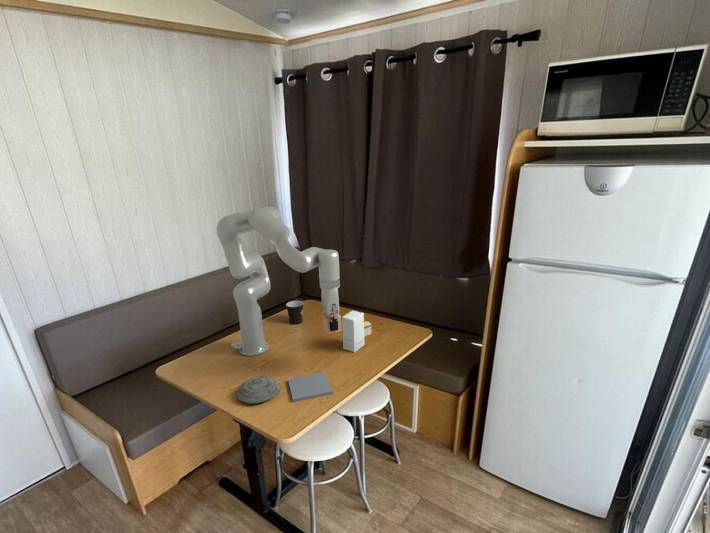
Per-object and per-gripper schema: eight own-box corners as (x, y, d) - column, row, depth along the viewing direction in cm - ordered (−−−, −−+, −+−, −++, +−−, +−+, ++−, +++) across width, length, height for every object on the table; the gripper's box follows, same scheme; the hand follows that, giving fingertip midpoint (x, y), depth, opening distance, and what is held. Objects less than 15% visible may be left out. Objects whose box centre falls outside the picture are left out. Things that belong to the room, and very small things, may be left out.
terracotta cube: (326, 333, 142) (325, 319, 140) (322, 327, 147) (322, 313, 145) (341, 331, 143) (341, 316, 142) (337, 324, 149) (337, 311, 147)
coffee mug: (296, 326, 186) (295, 308, 183) (284, 323, 190) (282, 305, 188) (311, 318, 195) (310, 300, 192) (299, 315, 200) (297, 297, 197)
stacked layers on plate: (367, 328, 182) (367, 318, 180) (377, 336, 174) (377, 325, 173) (349, 334, 177) (349, 323, 176) (358, 341, 170) (358, 330, 168)
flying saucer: (254, 378, 144) (253, 365, 142) (288, 386, 138) (286, 373, 136) (227, 401, 130) (225, 387, 129) (263, 410, 125) (261, 396, 123)
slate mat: (293, 402, 128) (292, 399, 128) (288, 381, 140) (288, 379, 140) (332, 393, 132) (332, 391, 132) (324, 374, 144) (324, 372, 144)
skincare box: (353, 341, 169) (352, 309, 165) (365, 345, 165) (365, 312, 161) (342, 349, 163) (340, 316, 158) (354, 353, 159) (353, 319, 154)
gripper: (315, 277, 147) (318, 319, 152) (325, 291, 131) (327, 338, 136) (333, 275, 149) (335, 316, 154) (345, 288, 133) (347, 334, 138)
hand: (332, 326), depth 145 cm, fingers closed on terracotta cube, 6 cm apart
